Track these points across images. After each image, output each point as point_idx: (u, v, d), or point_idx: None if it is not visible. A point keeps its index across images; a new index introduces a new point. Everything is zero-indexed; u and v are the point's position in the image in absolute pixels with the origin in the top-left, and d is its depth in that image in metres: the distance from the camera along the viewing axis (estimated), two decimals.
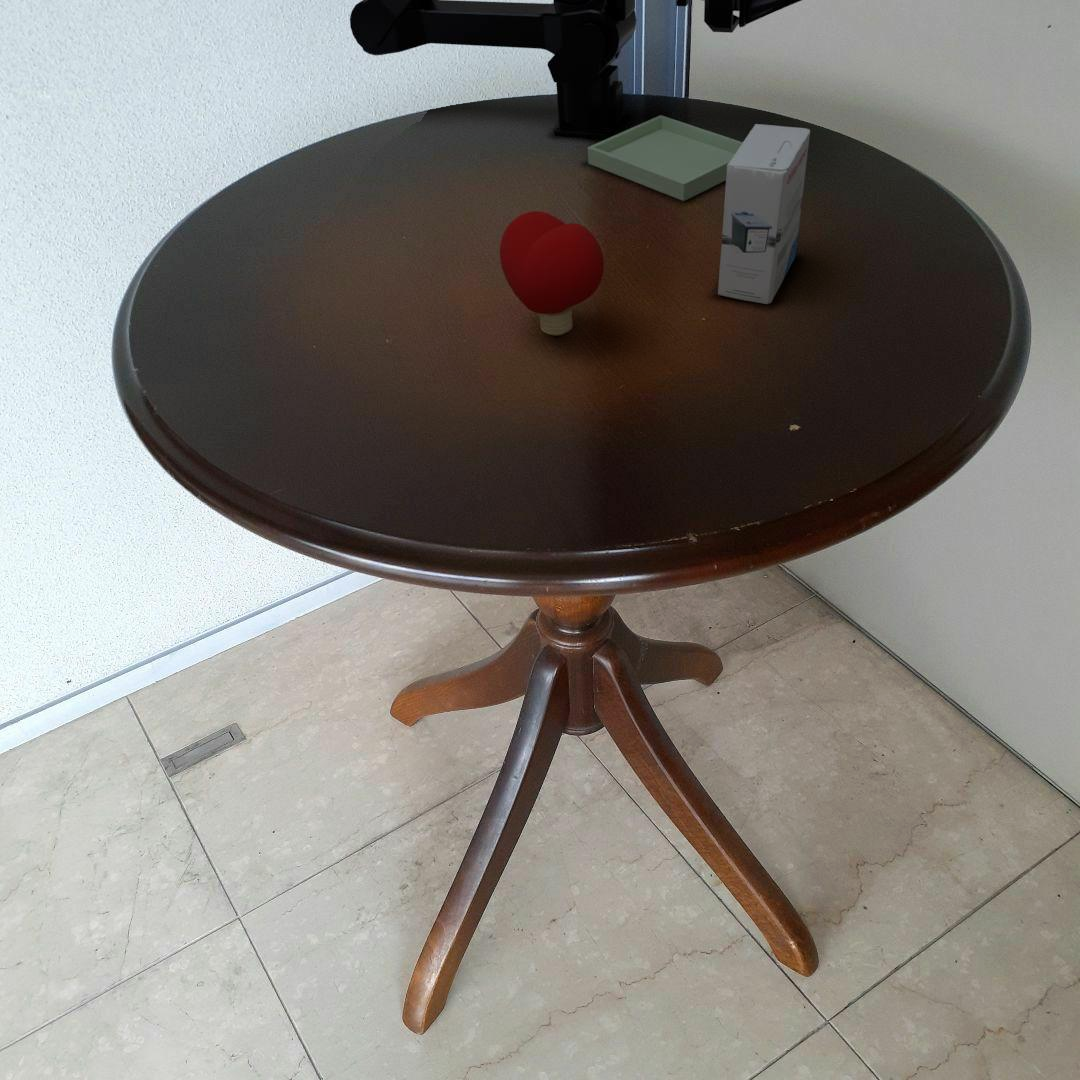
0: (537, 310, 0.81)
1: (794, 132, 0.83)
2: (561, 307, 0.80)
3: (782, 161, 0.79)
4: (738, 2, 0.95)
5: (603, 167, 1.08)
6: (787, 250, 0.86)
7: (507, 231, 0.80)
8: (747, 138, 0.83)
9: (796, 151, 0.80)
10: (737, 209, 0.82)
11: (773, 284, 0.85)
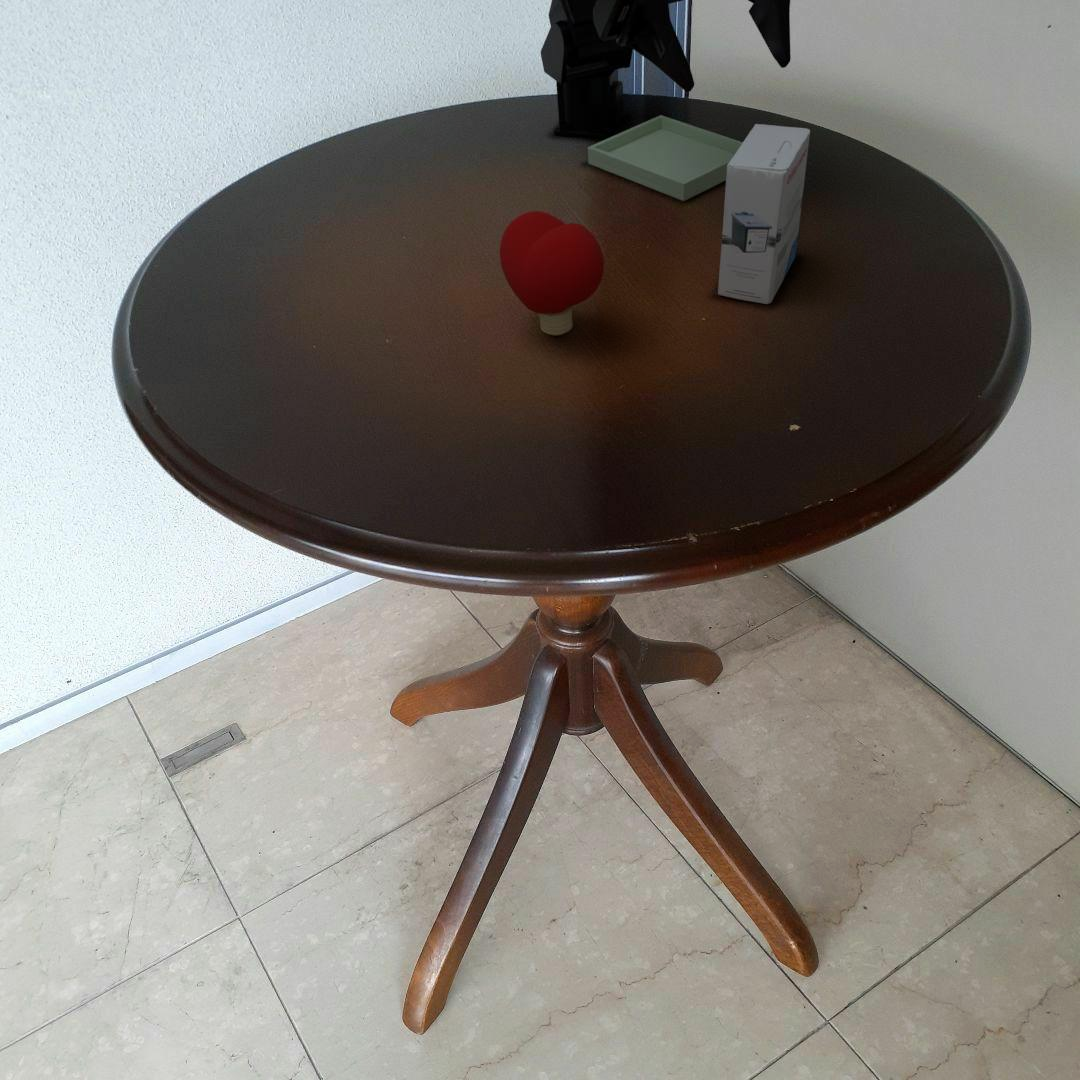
0: (537, 310, 0.81)
1: (794, 132, 0.83)
2: (561, 307, 0.80)
3: (782, 161, 0.79)
4: (622, 24, 0.85)
5: (603, 167, 1.08)
6: (787, 250, 0.86)
7: (507, 231, 0.80)
8: (747, 138, 0.83)
9: (796, 151, 0.80)
10: (737, 209, 0.82)
11: (773, 284, 0.85)
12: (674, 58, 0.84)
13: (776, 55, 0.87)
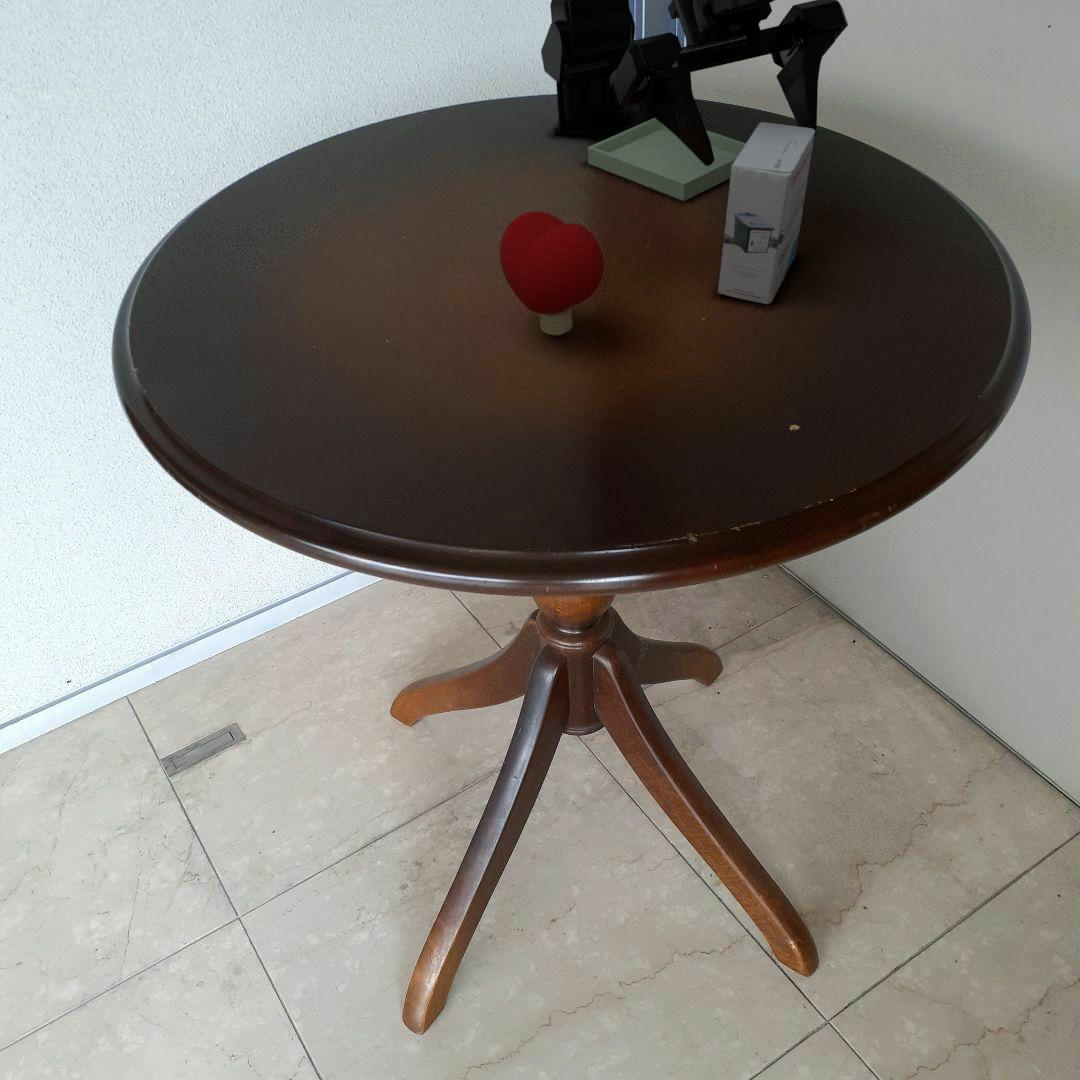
0: (537, 310, 0.81)
1: (799, 132, 0.82)
2: (561, 307, 0.80)
3: (787, 163, 0.79)
4: (643, 93, 0.82)
5: (603, 167, 1.08)
6: (788, 250, 0.86)
7: (507, 231, 0.80)
8: (752, 137, 0.83)
9: (801, 152, 0.80)
10: (740, 209, 0.81)
11: (774, 284, 0.85)
12: (694, 133, 0.81)
13: None
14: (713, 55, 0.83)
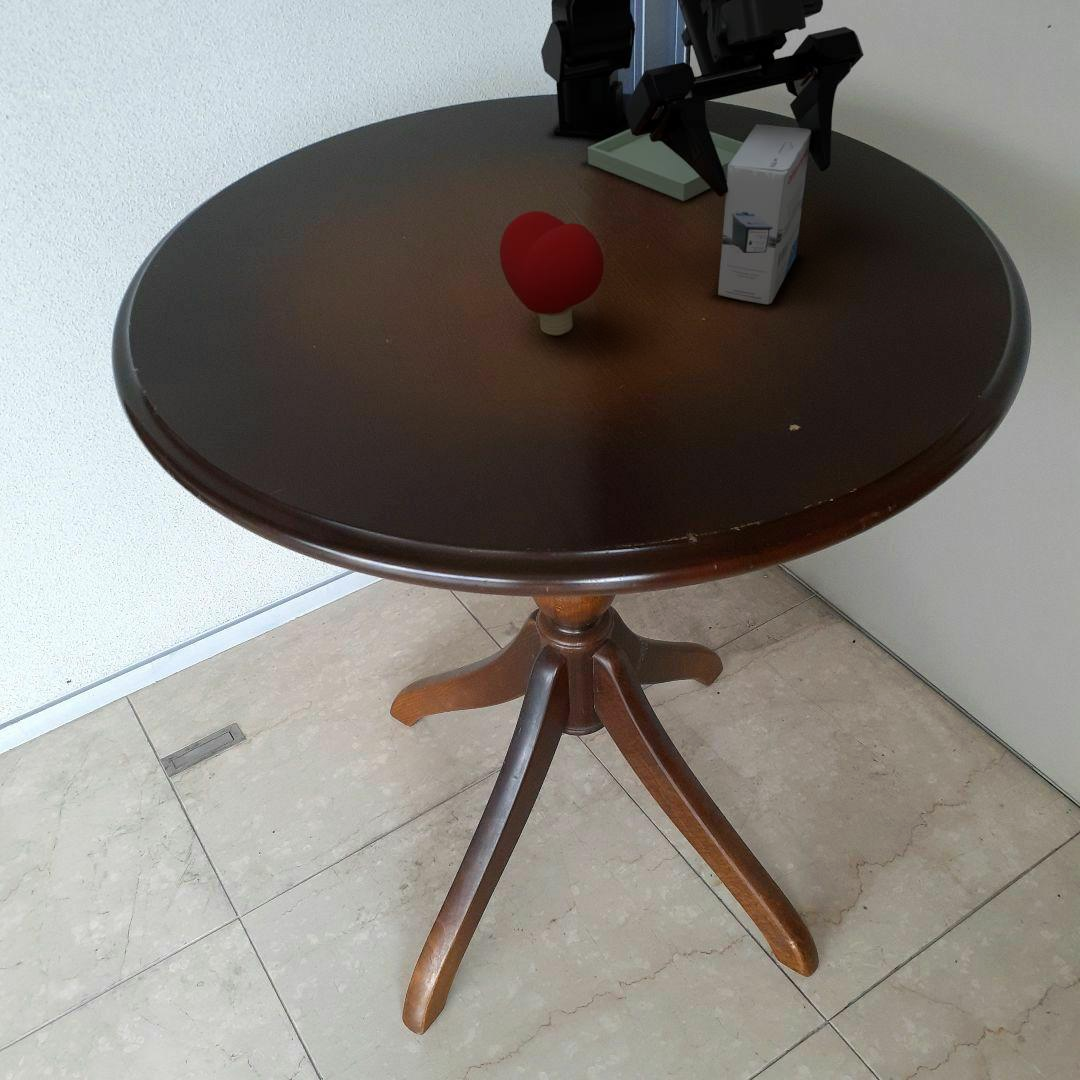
0: (537, 310, 0.81)
1: (795, 133, 0.83)
2: (561, 307, 0.80)
3: (783, 161, 0.79)
4: (656, 122, 0.82)
5: (603, 167, 1.08)
6: (787, 250, 0.86)
7: (507, 231, 0.80)
8: (748, 138, 0.83)
9: (797, 151, 0.80)
10: (737, 209, 0.82)
11: (773, 284, 0.85)
12: (708, 163, 0.80)
13: (815, 157, 0.84)
14: (727, 85, 0.82)
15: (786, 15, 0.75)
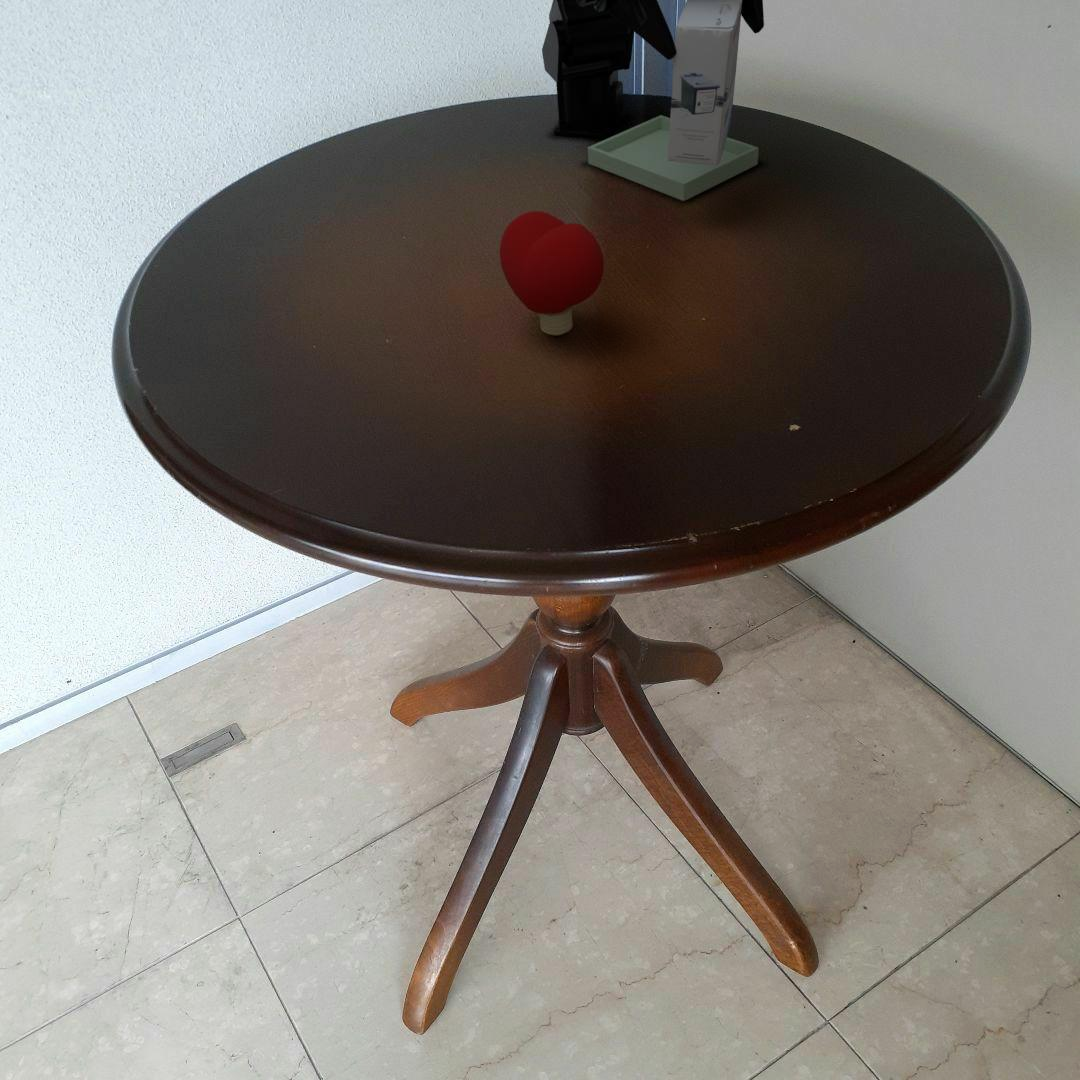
0: (537, 310, 0.81)
1: None
2: (561, 307, 0.80)
3: (726, 20, 0.84)
4: None
5: (603, 167, 1.08)
6: (729, 113, 0.92)
7: (507, 231, 0.80)
8: (687, 4, 0.87)
9: (736, 11, 0.85)
10: (686, 71, 0.86)
11: (721, 145, 0.90)
12: (656, 26, 0.84)
13: (749, 20, 0.89)
14: None
15: None
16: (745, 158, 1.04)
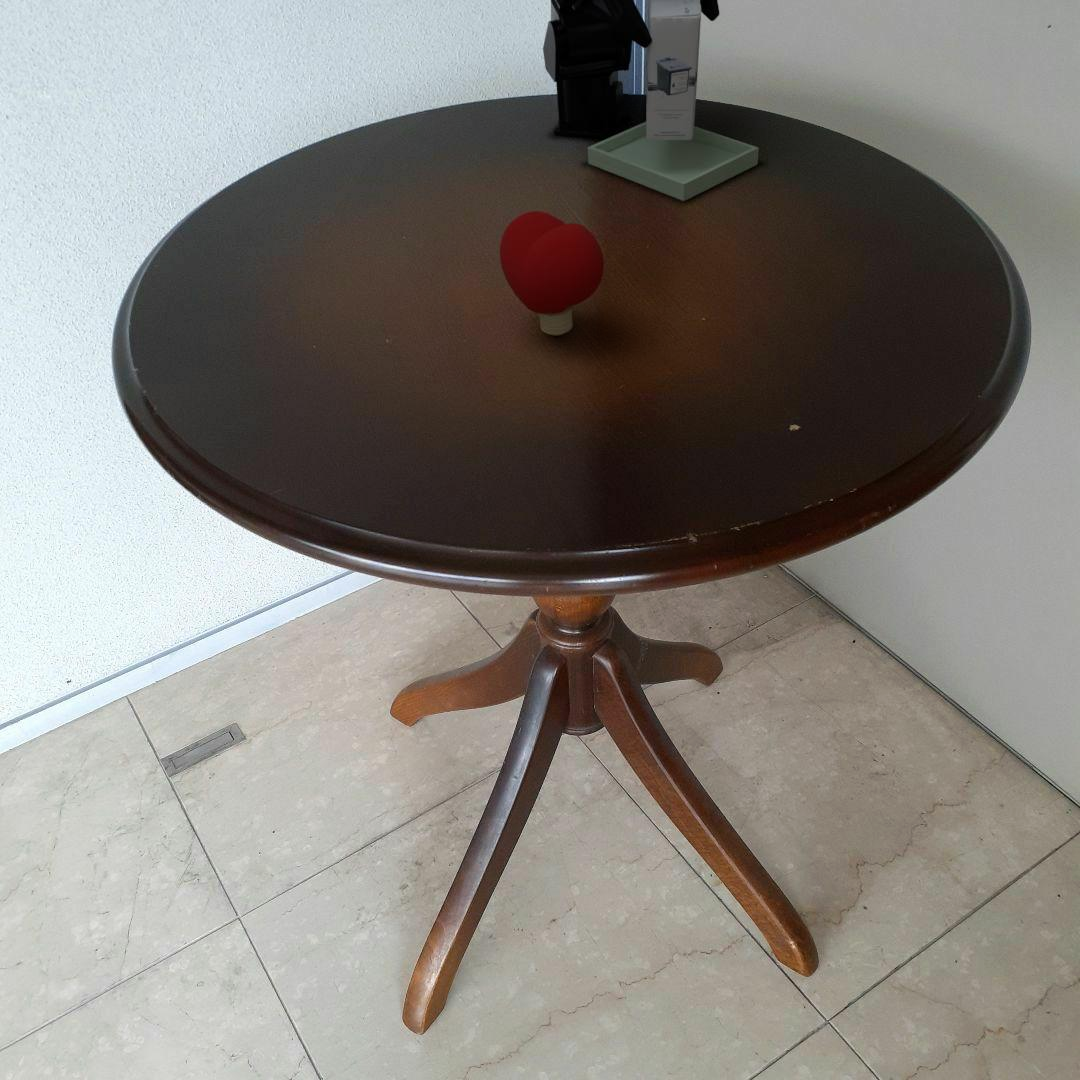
0: (537, 310, 0.81)
1: None
2: (561, 307, 0.80)
3: (693, 9, 0.95)
4: None
5: (603, 167, 1.08)
6: None
7: (507, 231, 0.80)
8: None
9: (699, 1, 0.96)
10: (661, 56, 0.97)
11: None
12: (632, 19, 0.95)
13: (705, 10, 1.00)
14: None
15: None
16: (745, 158, 1.04)
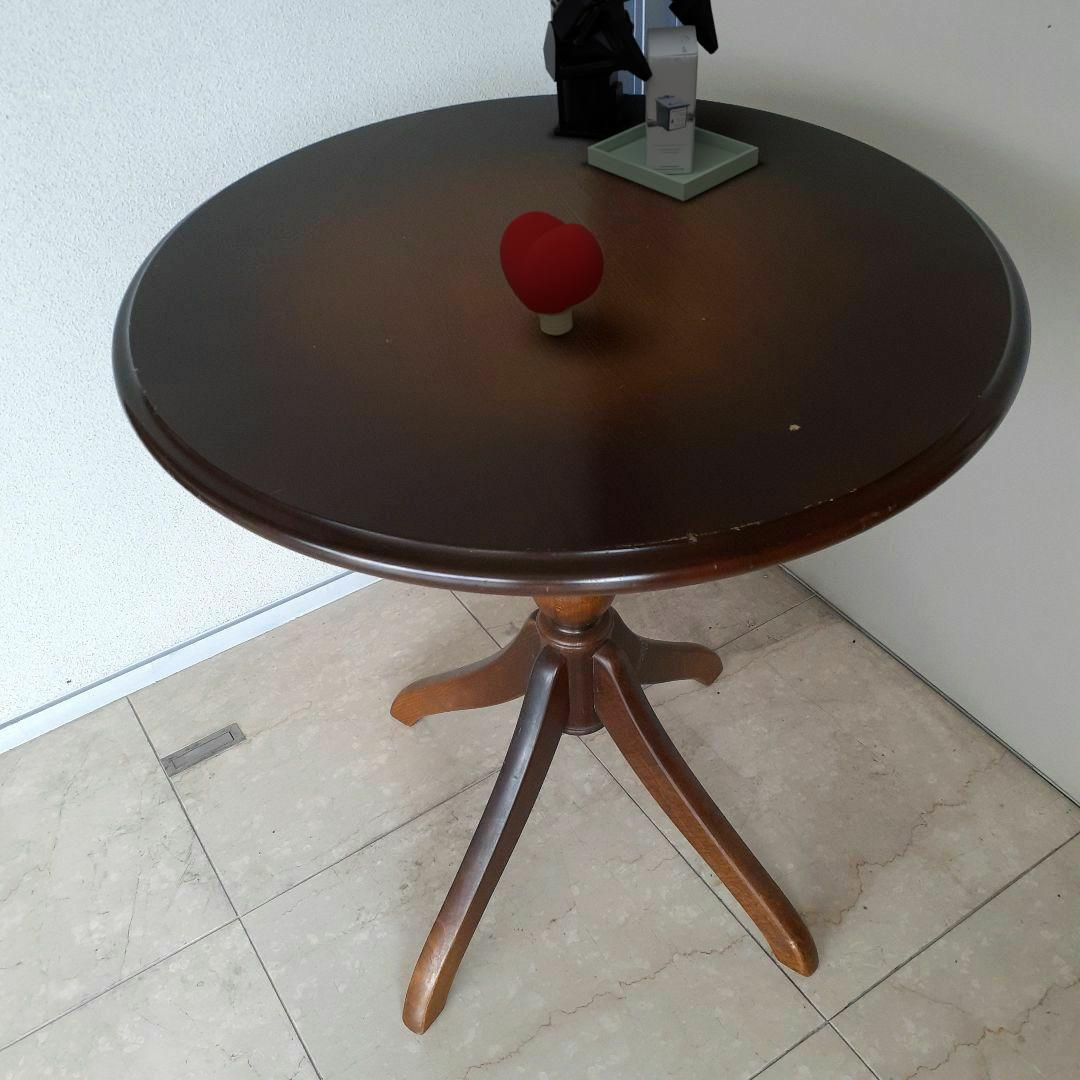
0: (537, 310, 0.81)
1: (684, 29, 1.02)
2: (561, 307, 0.80)
3: (690, 48, 0.98)
4: (582, 26, 0.97)
5: (603, 167, 1.08)
6: None
7: (507, 231, 0.80)
8: (649, 38, 1.01)
9: (695, 40, 0.99)
10: (659, 94, 0.99)
11: (692, 155, 1.04)
12: (633, 54, 0.97)
13: (704, 44, 1.02)
14: None
15: None
16: (745, 158, 1.04)
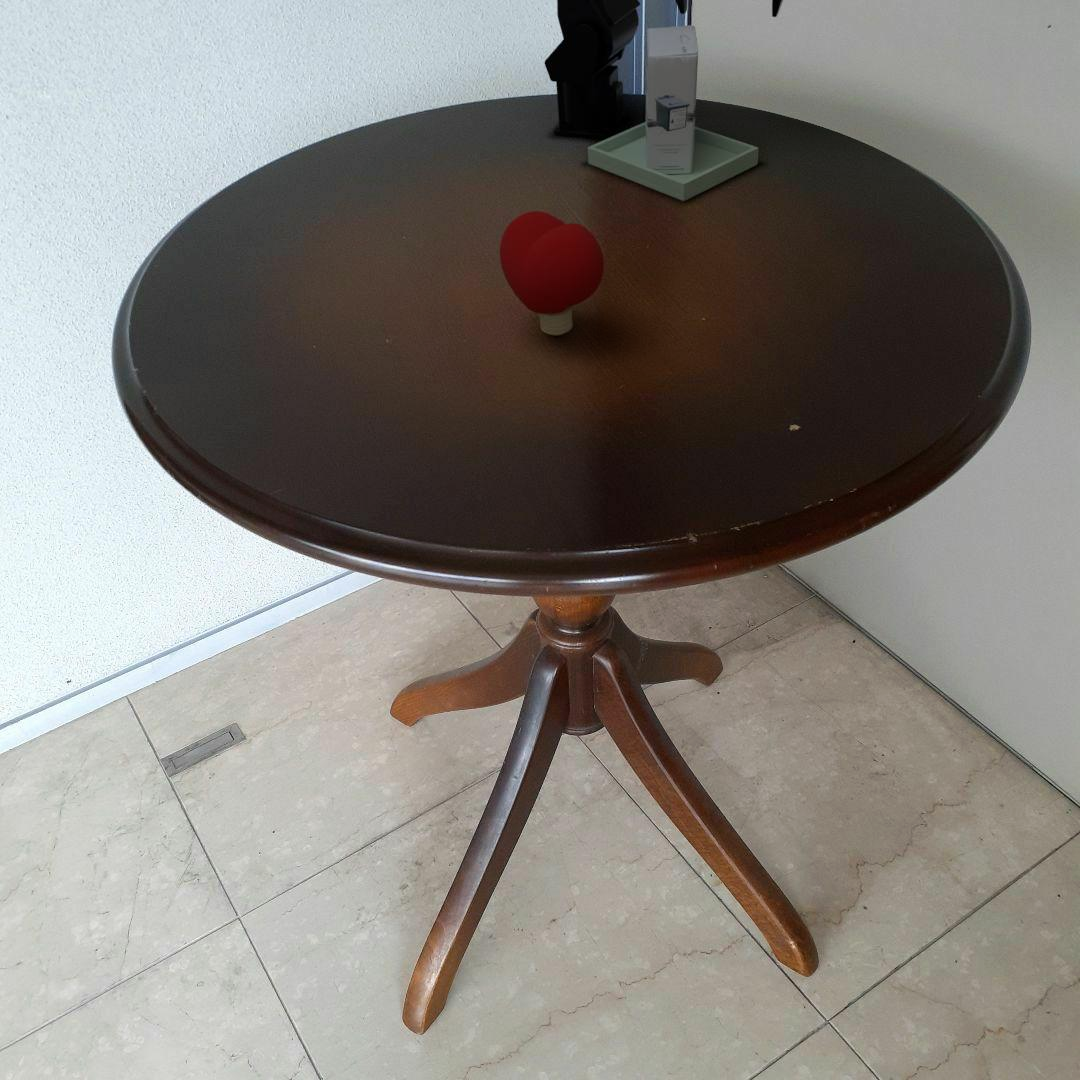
0: (537, 310, 0.81)
1: (684, 29, 1.02)
2: (561, 307, 0.80)
3: (690, 48, 0.98)
4: None
5: (603, 167, 1.08)
6: None
7: (507, 231, 0.80)
8: (649, 38, 1.01)
9: (695, 40, 0.99)
10: (659, 94, 0.99)
11: (692, 155, 1.04)
12: None
13: (684, 1, 1.02)
14: None
15: None
16: (745, 158, 1.04)
